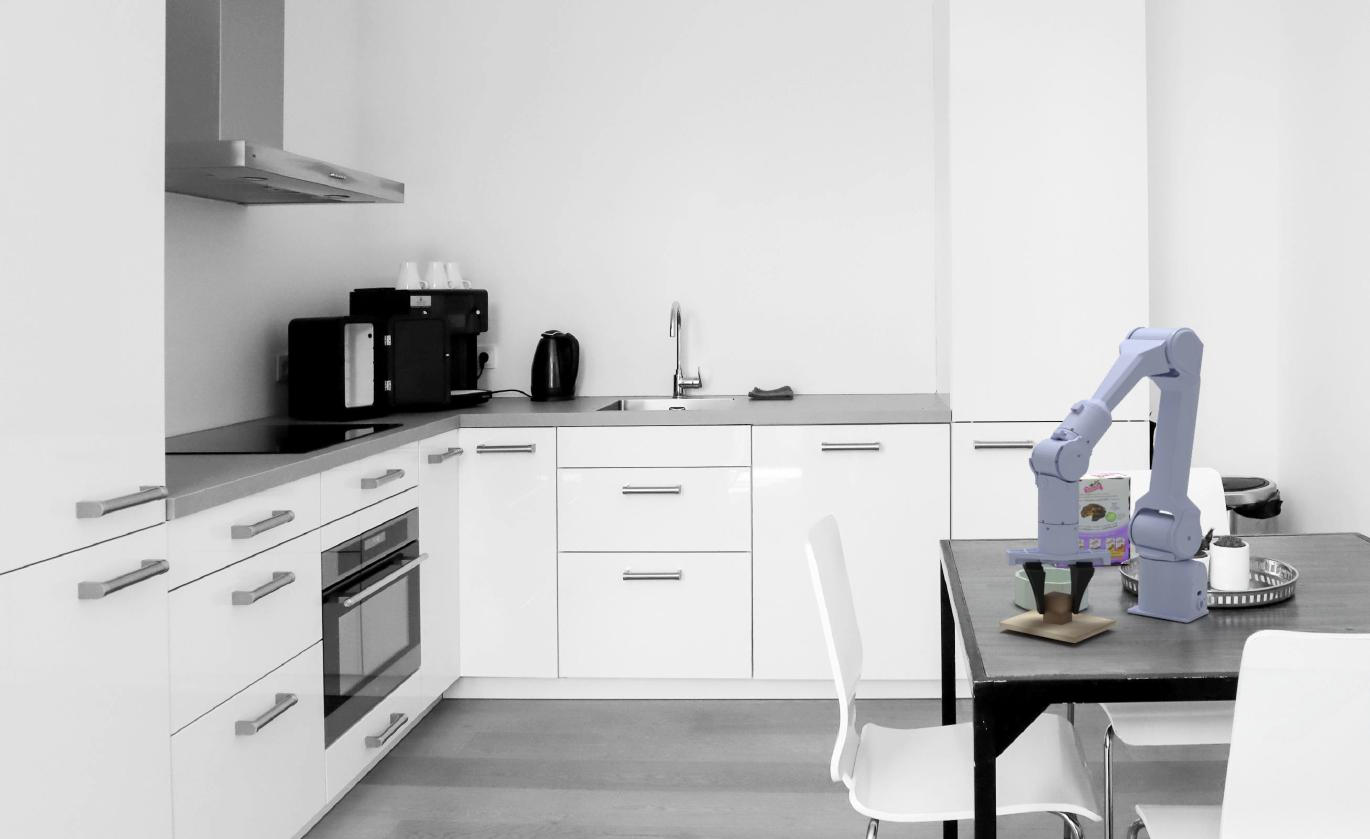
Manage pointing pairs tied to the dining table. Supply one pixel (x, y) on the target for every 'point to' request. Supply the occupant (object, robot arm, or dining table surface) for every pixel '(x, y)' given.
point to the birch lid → (1058, 621)
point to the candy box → (1104, 515)
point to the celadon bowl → (1053, 582)
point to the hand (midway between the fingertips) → (1057, 612)
